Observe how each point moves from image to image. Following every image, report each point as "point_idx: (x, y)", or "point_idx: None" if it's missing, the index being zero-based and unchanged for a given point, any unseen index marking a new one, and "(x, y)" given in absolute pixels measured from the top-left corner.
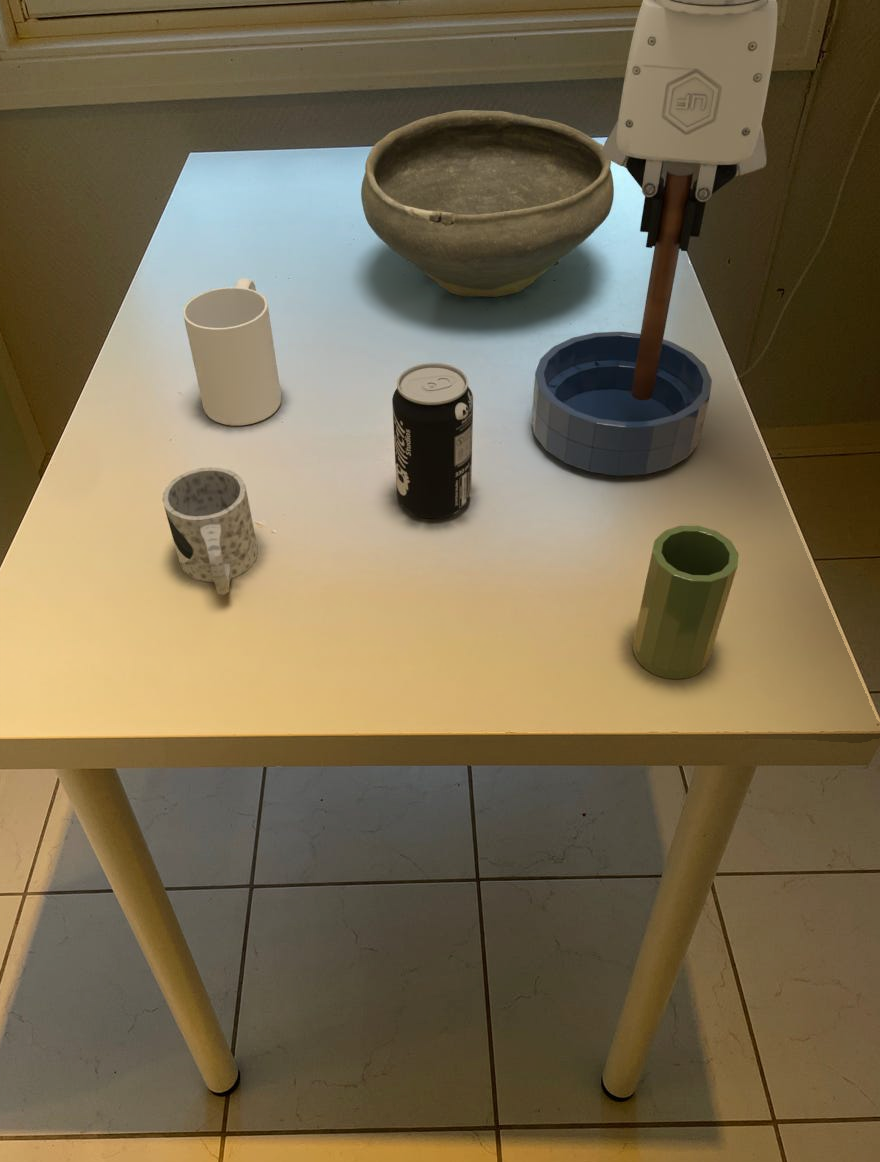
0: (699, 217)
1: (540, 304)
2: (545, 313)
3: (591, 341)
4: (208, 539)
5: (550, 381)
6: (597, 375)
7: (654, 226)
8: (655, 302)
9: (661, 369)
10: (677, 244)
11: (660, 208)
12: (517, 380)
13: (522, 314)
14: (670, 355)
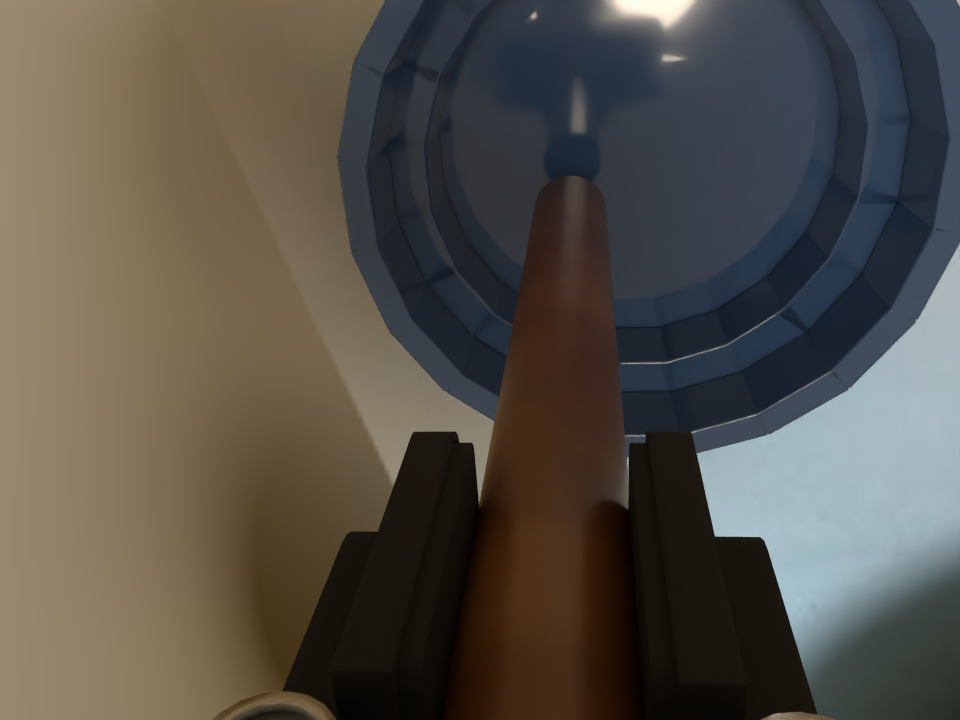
0: (337, 617)
1: (903, 674)
2: (887, 640)
3: (774, 394)
4: None
5: (883, 222)
6: (721, 330)
7: (665, 516)
8: (569, 310)
9: None
10: (489, 492)
11: (651, 627)
12: (956, 328)
13: (954, 627)
14: None
